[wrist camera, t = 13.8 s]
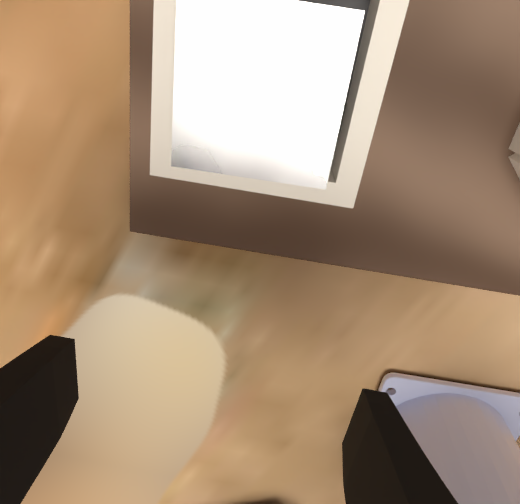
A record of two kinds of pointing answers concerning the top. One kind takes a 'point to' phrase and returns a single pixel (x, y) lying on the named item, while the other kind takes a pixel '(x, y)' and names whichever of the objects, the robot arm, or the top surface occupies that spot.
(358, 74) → the bore board
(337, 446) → the top surface
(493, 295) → the top surface
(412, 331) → the top surface
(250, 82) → the grey rectangular block
